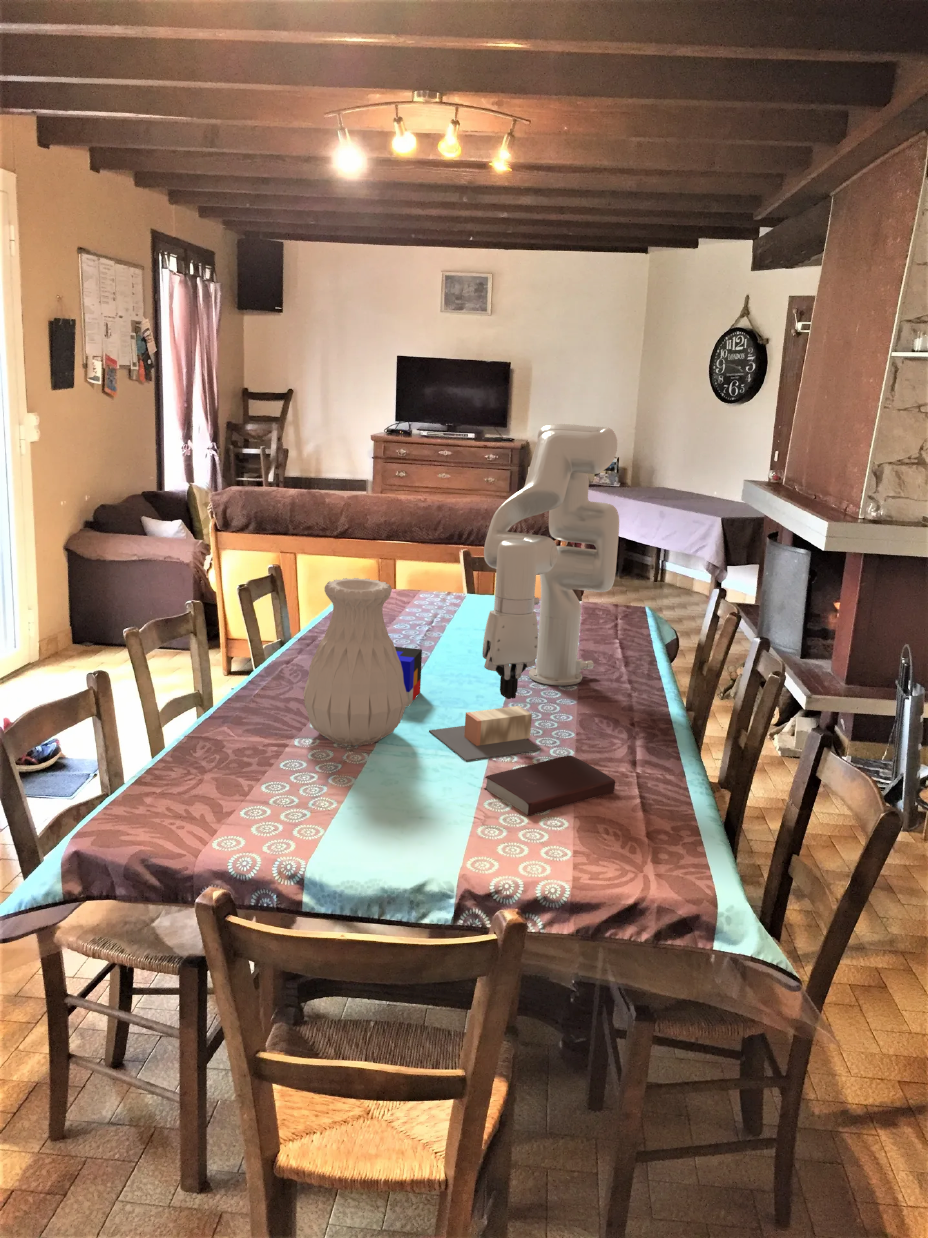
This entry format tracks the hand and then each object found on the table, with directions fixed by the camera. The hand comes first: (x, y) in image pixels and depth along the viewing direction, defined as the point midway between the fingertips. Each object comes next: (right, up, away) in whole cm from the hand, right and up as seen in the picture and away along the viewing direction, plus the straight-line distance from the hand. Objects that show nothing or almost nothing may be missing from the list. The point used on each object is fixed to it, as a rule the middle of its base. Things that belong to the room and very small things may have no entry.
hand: (508, 696), depth 189 cm
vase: (-30, -8, -1) cm, 31 cm away
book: (+6, -15, -21) cm, 27 cm away
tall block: (+3, -5, +3) cm, 7 cm away
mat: (-5, -9, 0) cm, 10 cm away
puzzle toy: (-24, -2, +23) cm, 33 cm away
